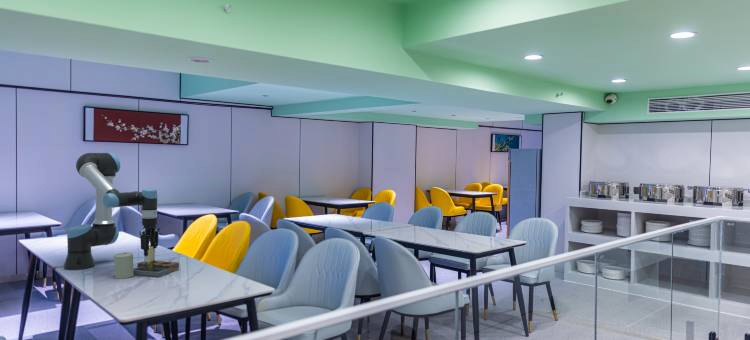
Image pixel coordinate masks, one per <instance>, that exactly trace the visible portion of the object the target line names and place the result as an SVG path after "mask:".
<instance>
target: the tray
mask: <svg viewBox="0 0 750 340" xmlns="http://www.w3.org/2000/svg"><path fill="white" fill-rule="evenodd" d="M133 270H134V276H137V277H138V276H140V277H150V278H151V277H152V278H161V277H164V276H166V275H168V274H169V275H170V273H169V269H163V268H153V271H146V267H138V266H137V267H136V268H133Z"/></svg>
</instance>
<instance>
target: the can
mask: <svg viewBox="0 0 750 340" xmlns="http://www.w3.org/2000/svg"><path fill="white" fill-rule="evenodd" d="M113 258H114V259H113V260H114V278H115V279H127V278H132V277H134V276H135V275H134V270H133V269H134V253H133V252H120V253H116V254H113Z"/></svg>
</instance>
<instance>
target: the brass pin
mask: <svg viewBox="0 0 750 340" xmlns="http://www.w3.org/2000/svg"><path fill="white" fill-rule="evenodd" d="M148 250H150V262H146V271H153V246H151V245H149V249H148Z"/></svg>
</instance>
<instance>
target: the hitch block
mask: <svg viewBox="0 0 750 340" xmlns="http://www.w3.org/2000/svg"><path fill="white" fill-rule="evenodd" d="M138 267H146V262H144V261H141V262H138V263H137V268H138ZM153 268H163V269H169V274H170V273H173V272H176V271H178V270H179V269H180V262H179V261H178V262H175V261H164V260H155V263H153Z"/></svg>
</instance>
